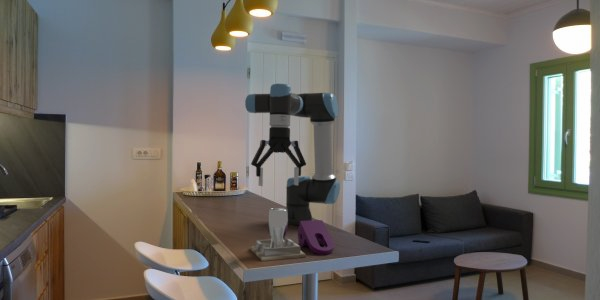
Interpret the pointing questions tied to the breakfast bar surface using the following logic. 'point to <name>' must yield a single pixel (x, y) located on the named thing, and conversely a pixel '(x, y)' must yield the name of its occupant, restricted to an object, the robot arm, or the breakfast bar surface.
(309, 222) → the mounting bracket
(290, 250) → the cup holder
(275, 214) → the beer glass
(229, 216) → the breakfast bar surface
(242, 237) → the breakfast bar surface
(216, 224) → the breakfast bar surface
